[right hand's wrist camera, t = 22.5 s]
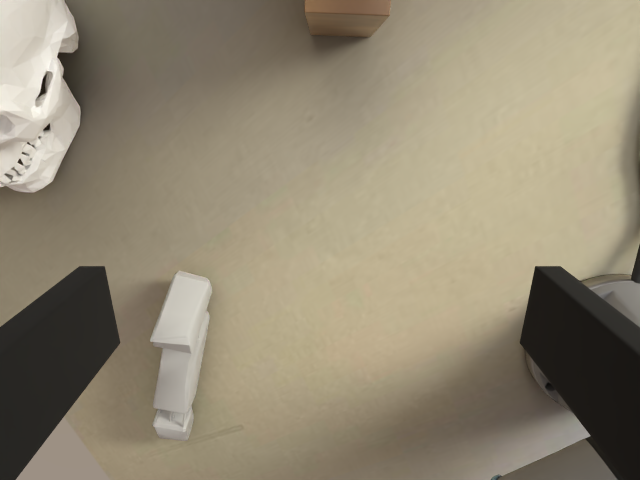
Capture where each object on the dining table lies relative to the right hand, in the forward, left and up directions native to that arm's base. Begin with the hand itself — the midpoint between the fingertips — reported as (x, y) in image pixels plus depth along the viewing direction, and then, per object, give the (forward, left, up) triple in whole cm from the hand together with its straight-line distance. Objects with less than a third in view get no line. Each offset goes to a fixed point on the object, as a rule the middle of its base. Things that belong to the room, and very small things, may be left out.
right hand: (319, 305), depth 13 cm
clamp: (+22, -10, -26) cm, 36 cm away
